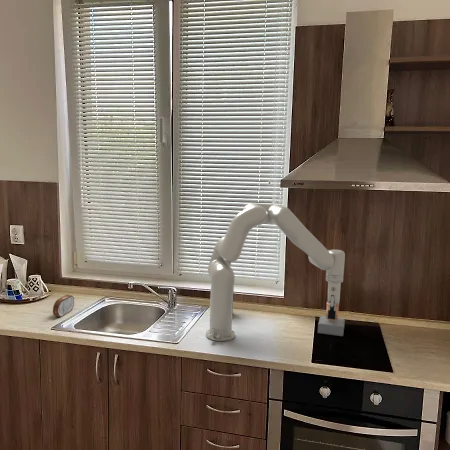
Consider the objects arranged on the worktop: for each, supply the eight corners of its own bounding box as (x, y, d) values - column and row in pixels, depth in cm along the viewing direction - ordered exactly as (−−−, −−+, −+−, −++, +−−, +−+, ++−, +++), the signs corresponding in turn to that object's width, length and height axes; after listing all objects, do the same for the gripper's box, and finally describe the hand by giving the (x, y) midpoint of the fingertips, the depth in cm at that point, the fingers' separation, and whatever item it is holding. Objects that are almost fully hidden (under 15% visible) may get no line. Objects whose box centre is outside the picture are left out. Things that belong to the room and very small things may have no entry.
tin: (69, 308, 223) (69, 292, 221) (75, 309, 222) (75, 292, 221) (52, 319, 208) (51, 301, 207) (58, 319, 207) (58, 302, 206)
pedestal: (343, 336, 198) (343, 326, 197) (317, 332, 201) (318, 323, 200) (344, 327, 208) (344, 318, 208) (319, 324, 211) (320, 315, 211)
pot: (337, 321, 200) (338, 305, 199) (325, 319, 202) (326, 304, 201) (338, 317, 206) (339, 302, 205) (326, 315, 207) (327, 300, 206)
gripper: (342, 283, 192) (339, 324, 195) (344, 273, 208) (341, 311, 211) (324, 281, 194) (321, 322, 197) (327, 272, 210) (324, 309, 213)
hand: (331, 316), depth 204 cm, fingers closed on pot, 5 cm apart
